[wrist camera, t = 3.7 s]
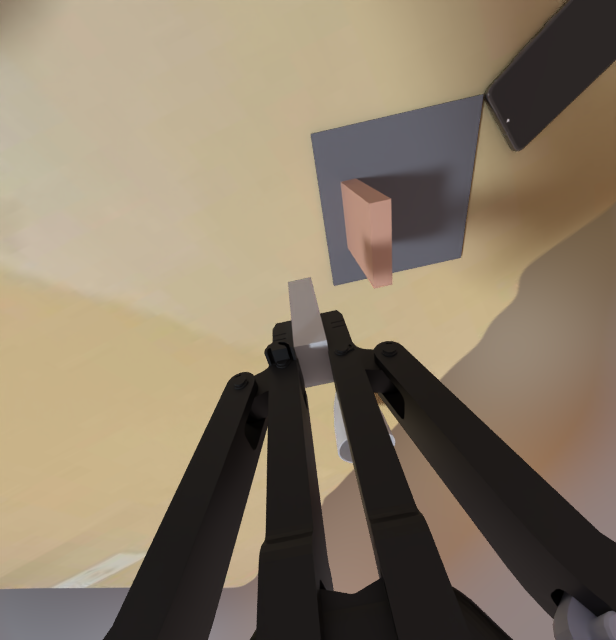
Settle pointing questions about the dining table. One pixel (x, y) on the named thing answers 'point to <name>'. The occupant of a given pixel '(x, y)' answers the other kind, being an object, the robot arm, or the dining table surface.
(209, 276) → the dining table surface
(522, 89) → the smartphone
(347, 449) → the cup
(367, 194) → the slab
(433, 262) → the mat
